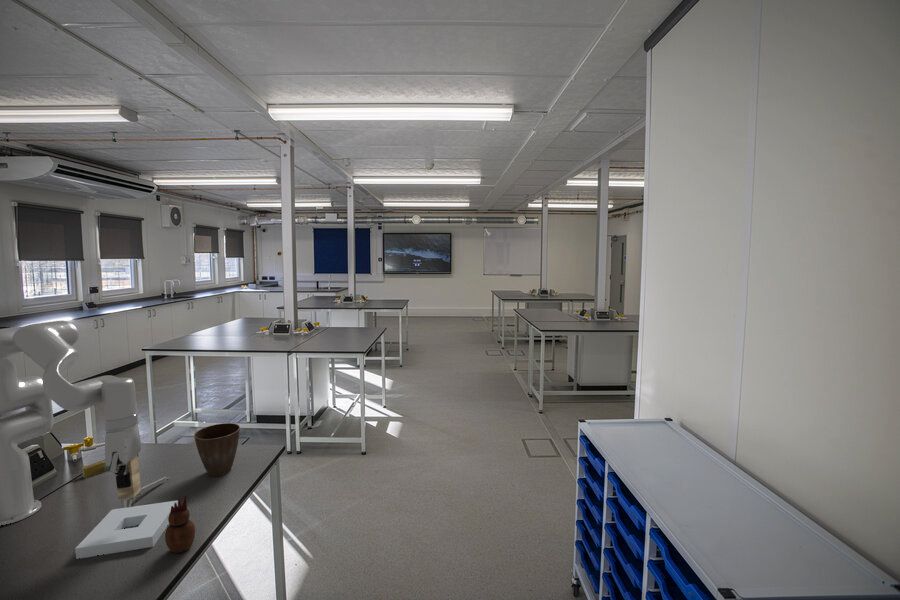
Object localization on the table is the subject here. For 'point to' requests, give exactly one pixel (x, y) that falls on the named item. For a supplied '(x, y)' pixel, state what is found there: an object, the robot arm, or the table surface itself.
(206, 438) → the plant pot
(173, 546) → the wooden figurine
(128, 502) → the caliper
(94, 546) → the socket plate
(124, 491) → the maple peg
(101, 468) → the medication box
